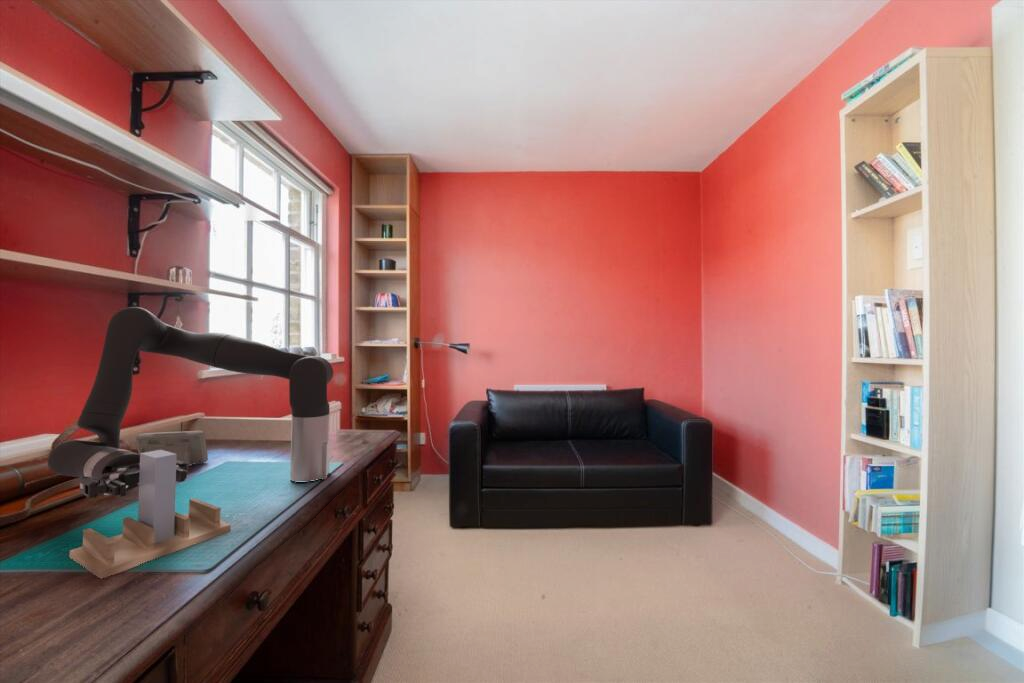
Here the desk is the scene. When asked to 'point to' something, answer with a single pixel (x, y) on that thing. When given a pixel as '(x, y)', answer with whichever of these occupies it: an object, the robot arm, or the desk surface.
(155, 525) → the grey tall block
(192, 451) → the grey basket
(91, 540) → the rack
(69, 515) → the desk surface
